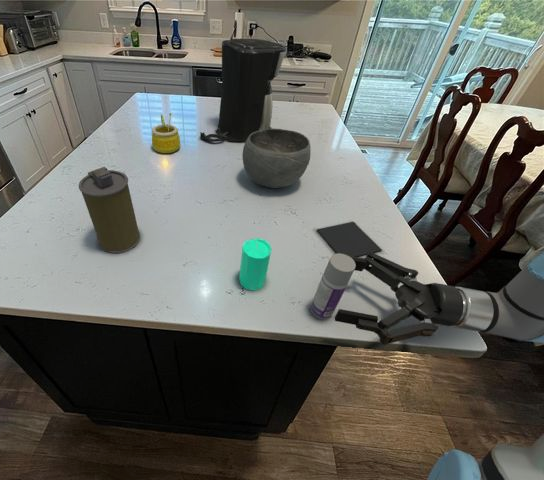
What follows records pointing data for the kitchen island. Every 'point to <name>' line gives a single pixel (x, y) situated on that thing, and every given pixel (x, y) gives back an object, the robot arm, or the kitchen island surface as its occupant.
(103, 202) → the canister
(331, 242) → the mat
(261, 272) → the candle
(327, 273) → the container
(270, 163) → the bowl
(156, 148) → the mug
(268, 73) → the coffee maker
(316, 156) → the kitchen island surface
